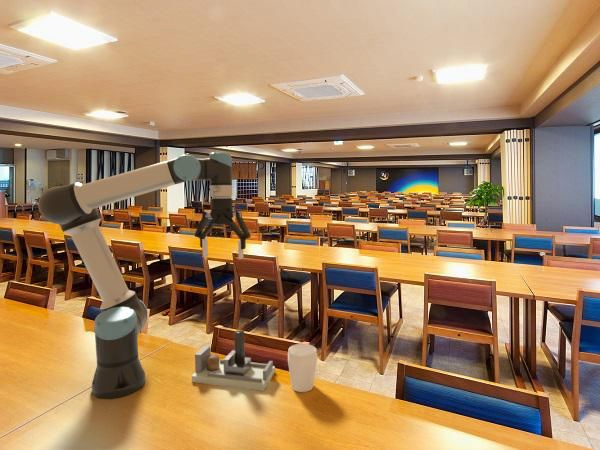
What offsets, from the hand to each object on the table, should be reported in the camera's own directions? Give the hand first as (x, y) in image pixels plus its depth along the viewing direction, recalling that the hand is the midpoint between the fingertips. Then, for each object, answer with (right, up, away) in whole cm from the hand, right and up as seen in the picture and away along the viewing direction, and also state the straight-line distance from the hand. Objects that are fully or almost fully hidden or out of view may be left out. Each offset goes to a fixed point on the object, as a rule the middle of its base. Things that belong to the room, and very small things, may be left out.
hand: (223, 257), depth 134 cm
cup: (+28, -39, -17) cm, 51 cm away
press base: (+6, -38, -11) cm, 40 cm away
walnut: (-1, -36, -9) cm, 37 cm away
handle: (+7, -36, -11) cm, 38 cm away
